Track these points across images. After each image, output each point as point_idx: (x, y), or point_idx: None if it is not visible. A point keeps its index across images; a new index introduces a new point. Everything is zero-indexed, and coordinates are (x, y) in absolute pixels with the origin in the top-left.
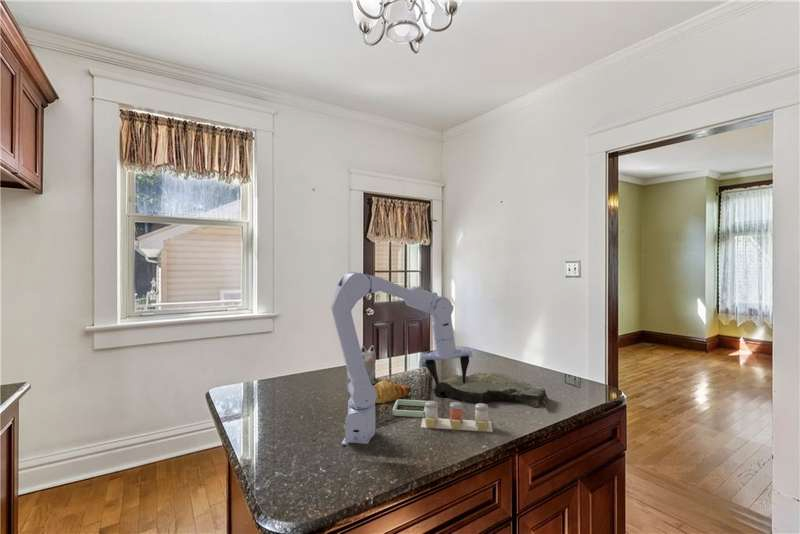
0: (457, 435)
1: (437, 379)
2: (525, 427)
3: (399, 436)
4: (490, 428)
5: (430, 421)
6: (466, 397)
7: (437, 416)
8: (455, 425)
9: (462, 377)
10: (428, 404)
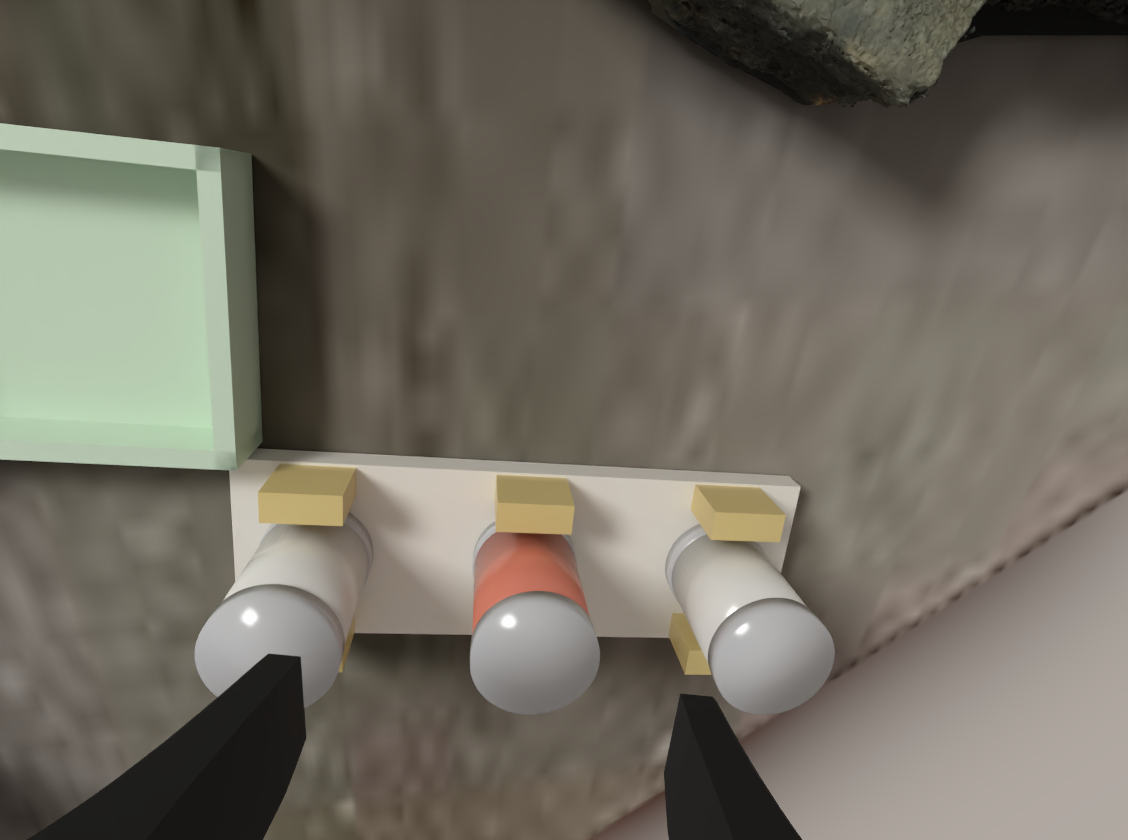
0: None
1: (257, 825)
2: (1011, 493)
3: (103, 705)
4: None
5: None
6: (703, 5)
7: (362, 585)
8: None
9: (683, 805)
10: None
